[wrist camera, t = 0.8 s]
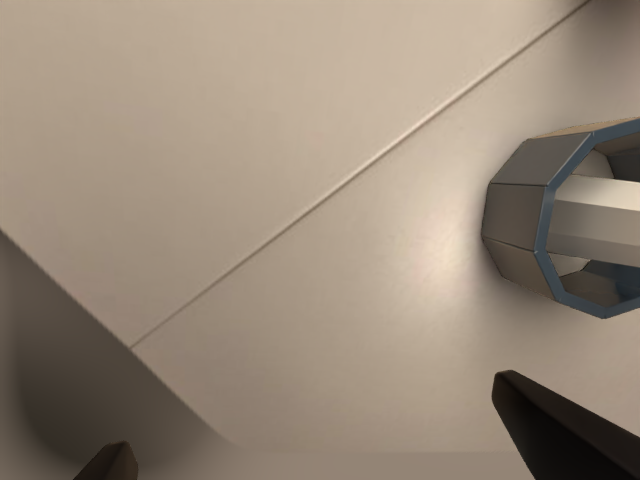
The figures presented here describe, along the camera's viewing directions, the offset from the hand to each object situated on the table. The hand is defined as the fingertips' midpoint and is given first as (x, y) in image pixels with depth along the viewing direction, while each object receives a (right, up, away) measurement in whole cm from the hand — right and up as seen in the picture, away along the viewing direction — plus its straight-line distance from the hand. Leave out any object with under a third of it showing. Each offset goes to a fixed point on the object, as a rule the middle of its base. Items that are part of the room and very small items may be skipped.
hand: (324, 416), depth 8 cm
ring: (+16, +6, +14) cm, 22 cm away
